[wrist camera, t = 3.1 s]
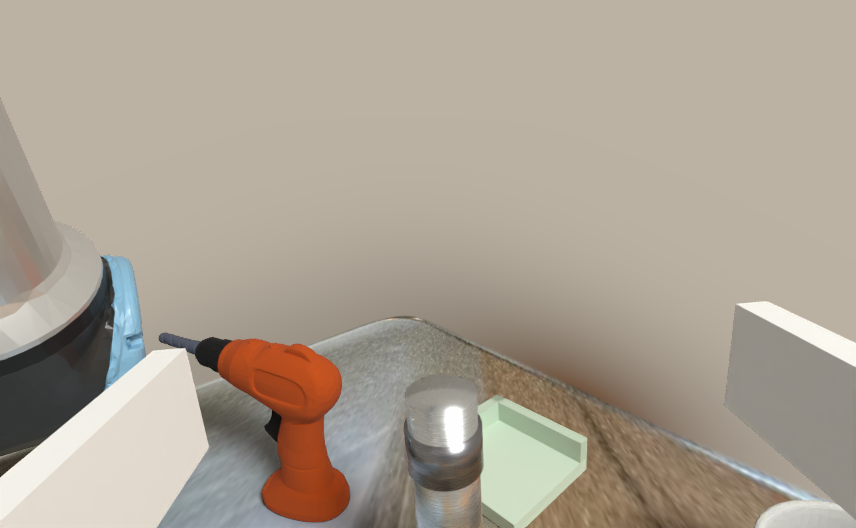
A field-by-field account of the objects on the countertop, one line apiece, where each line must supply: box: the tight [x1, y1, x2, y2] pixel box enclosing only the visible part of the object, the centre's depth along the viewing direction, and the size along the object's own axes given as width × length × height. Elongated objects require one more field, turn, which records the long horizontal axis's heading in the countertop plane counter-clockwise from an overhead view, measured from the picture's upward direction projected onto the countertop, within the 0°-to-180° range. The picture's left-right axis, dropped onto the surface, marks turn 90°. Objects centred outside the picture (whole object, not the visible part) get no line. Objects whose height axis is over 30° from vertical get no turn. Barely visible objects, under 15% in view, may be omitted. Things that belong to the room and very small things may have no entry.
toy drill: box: [159, 333, 350, 522], centre depth 39 cm, size 5×19×15 cm, turn 68°
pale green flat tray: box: [477, 395, 587, 528], centre depth 41 cm, size 10×10×3 cm
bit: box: [404, 374, 484, 528], centre depth 25 cm, size 4×4×16 cm
